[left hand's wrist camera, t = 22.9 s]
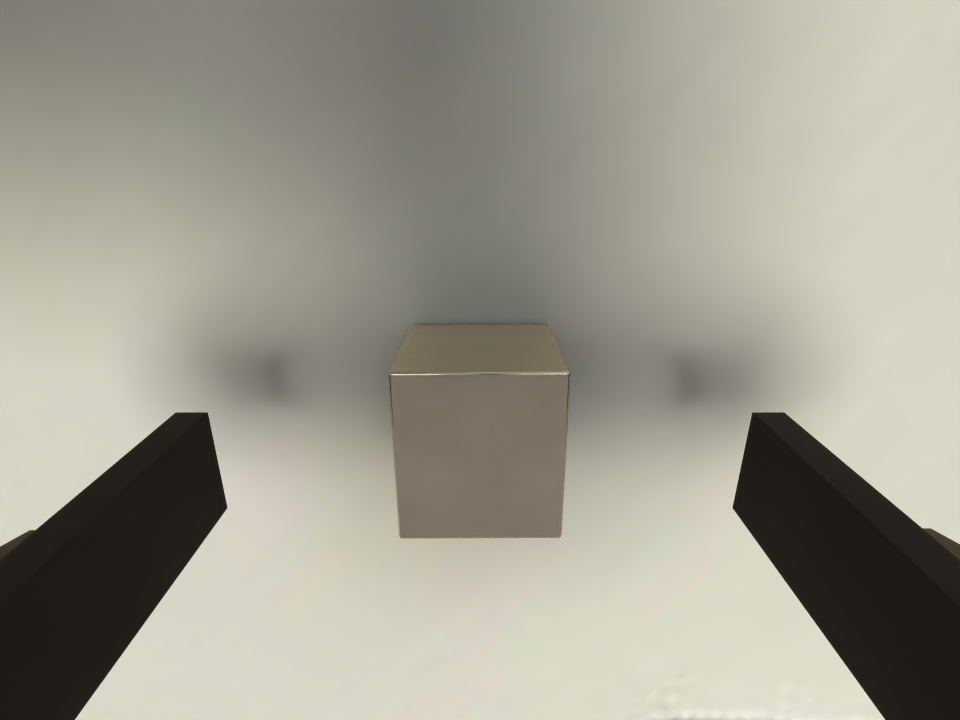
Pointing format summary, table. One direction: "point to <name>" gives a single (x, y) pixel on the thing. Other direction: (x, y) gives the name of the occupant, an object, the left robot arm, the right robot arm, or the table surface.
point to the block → (479, 431)
